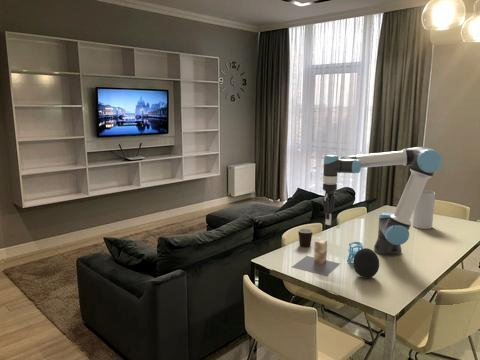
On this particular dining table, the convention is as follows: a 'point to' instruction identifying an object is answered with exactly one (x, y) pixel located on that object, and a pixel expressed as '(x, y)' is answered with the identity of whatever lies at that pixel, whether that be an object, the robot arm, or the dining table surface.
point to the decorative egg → (366, 263)
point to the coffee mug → (305, 237)
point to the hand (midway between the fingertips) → (328, 224)
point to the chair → (353, 251)
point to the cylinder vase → (424, 210)
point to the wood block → (320, 251)
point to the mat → (316, 266)
